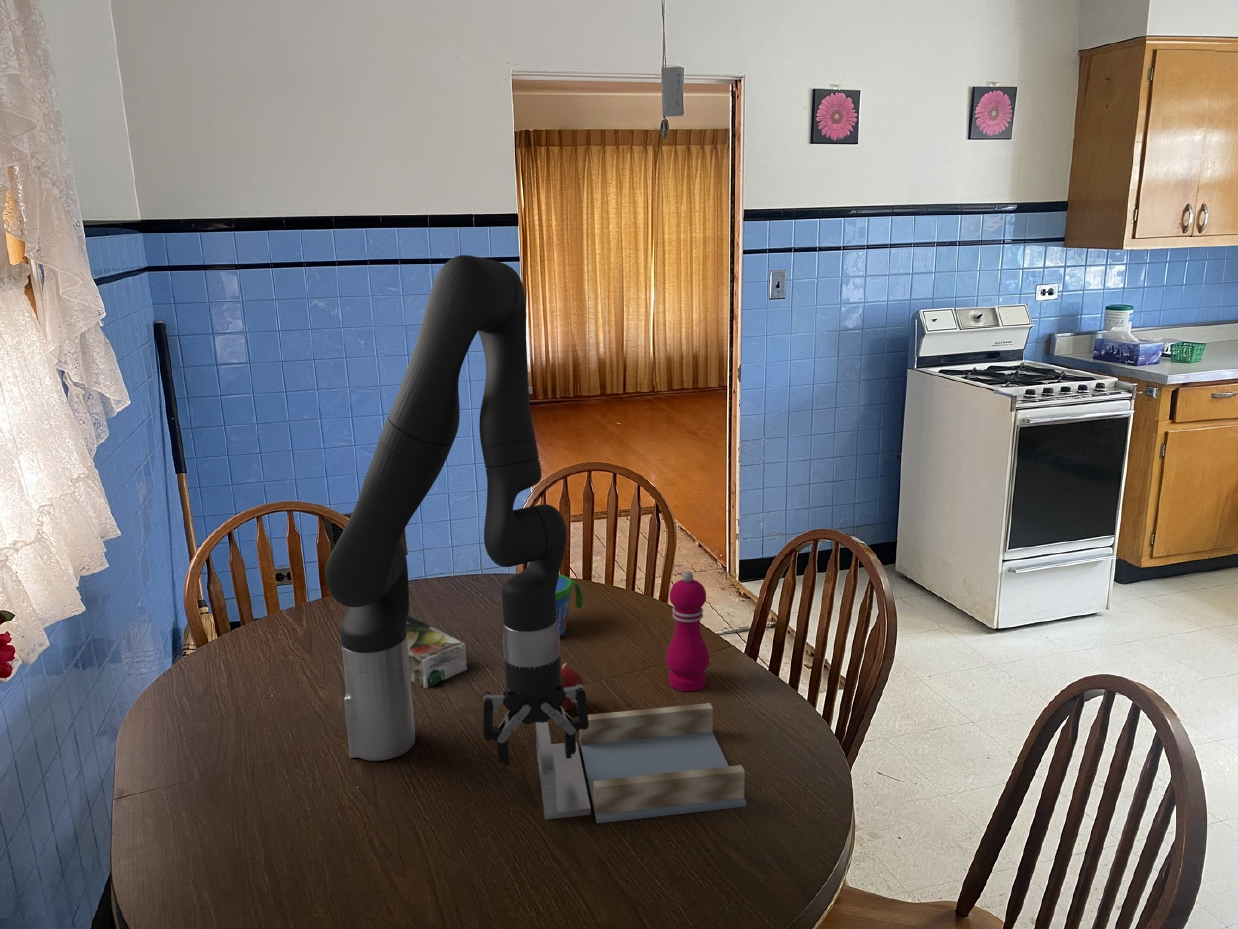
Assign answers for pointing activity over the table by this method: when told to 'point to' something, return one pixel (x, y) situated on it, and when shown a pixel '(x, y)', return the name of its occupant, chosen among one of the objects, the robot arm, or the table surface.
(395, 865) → the table surface
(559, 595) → the snack cup
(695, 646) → the pepper mill
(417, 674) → the juice carton
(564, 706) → the onion
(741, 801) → the board
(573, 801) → the bracket
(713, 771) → the walls
